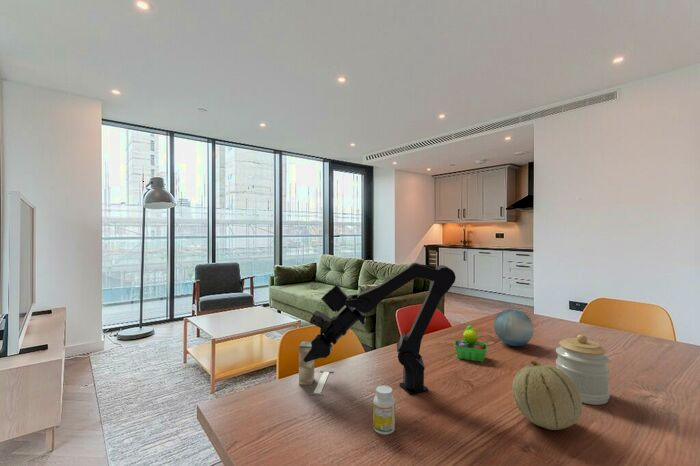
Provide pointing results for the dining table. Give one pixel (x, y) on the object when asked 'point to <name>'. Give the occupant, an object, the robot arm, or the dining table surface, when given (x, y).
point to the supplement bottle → (384, 410)
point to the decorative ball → (513, 327)
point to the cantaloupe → (547, 396)
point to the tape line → (321, 383)
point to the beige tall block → (305, 365)
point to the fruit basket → (470, 346)
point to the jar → (585, 368)
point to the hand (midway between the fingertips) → (308, 355)
